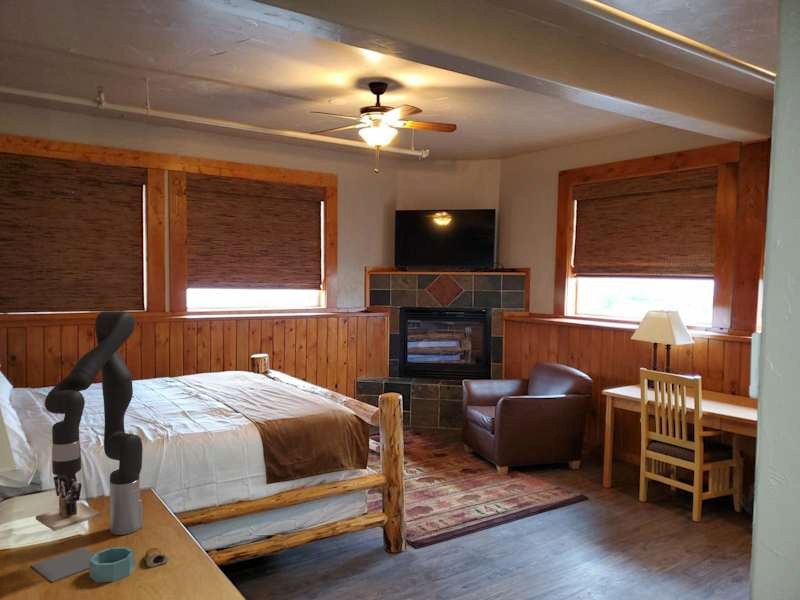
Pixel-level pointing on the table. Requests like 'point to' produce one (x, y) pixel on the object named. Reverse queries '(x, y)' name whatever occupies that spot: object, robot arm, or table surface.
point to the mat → (64, 565)
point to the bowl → (112, 564)
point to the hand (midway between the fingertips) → (68, 512)
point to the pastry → (156, 557)
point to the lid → (62, 520)
